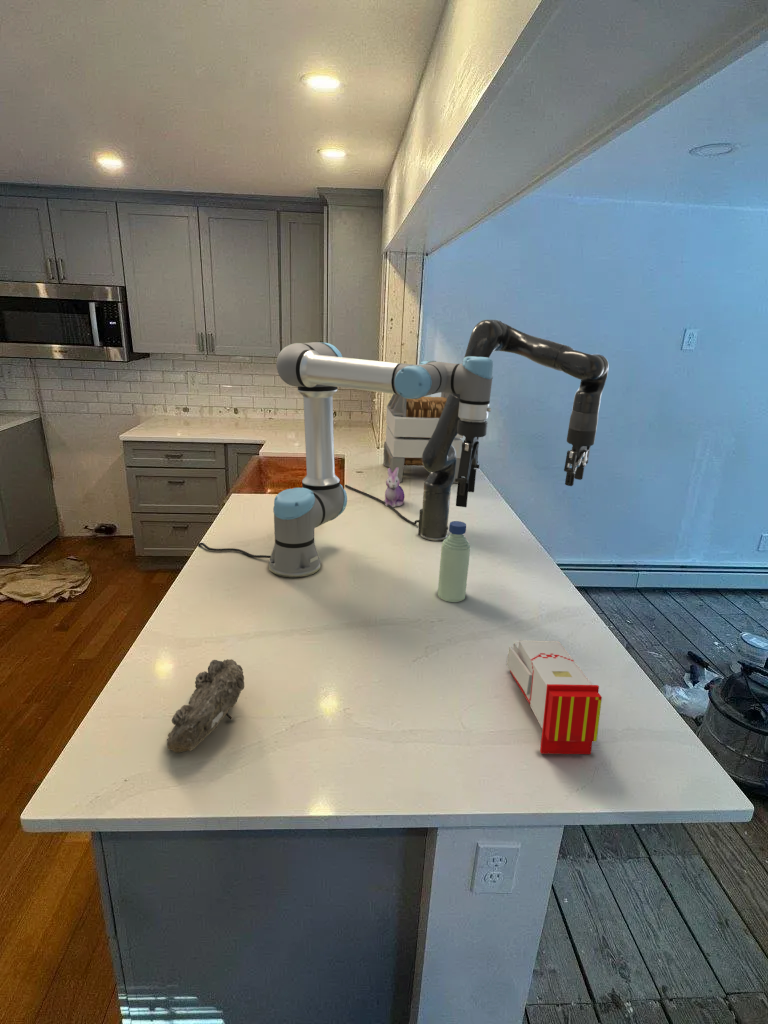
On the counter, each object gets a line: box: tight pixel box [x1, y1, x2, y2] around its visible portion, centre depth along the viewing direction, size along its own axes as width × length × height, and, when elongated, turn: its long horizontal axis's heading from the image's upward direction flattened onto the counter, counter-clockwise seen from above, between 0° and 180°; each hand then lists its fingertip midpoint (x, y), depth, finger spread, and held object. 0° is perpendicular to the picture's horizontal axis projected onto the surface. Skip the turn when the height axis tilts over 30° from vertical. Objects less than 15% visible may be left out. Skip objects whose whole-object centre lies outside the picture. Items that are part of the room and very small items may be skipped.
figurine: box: [383, 467, 405, 508], centre depth 227 cm, size 9×10×15 cm
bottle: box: [437, 533, 471, 603], centre depth 155 cm, size 8×8×21 cm
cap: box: [448, 520, 467, 535], centre depth 152 cm, size 4×4×2 cm
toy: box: [506, 640, 603, 755], centre depth 114 cm, size 12×13×30 cm
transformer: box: [383, 392, 464, 484], centre depth 268 cm, size 34×33×41 cm
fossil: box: [166, 658, 245, 754], centre depth 106 cm, size 22×10×15 cm
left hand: (465, 498), depth 152 cm, fingers open, 13 cm apart
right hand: (573, 482), depth 165 cm, fingers open, 8 cm apart
